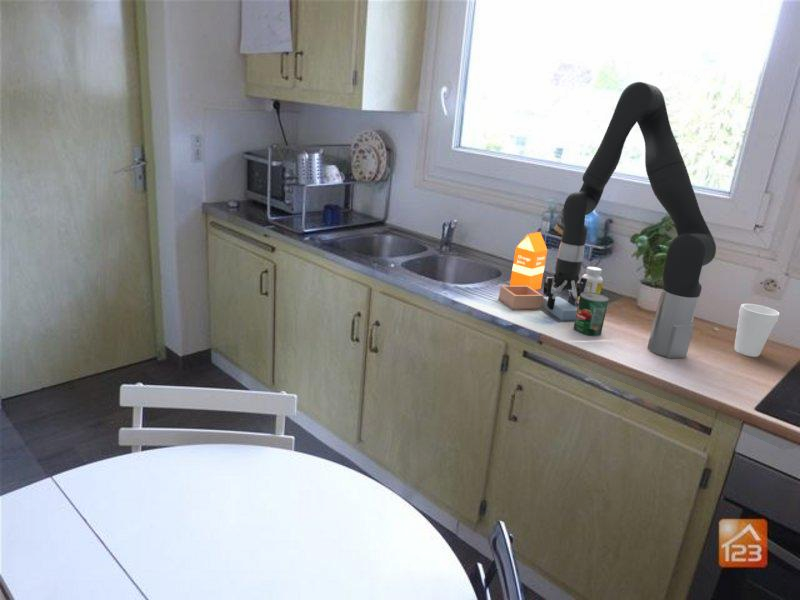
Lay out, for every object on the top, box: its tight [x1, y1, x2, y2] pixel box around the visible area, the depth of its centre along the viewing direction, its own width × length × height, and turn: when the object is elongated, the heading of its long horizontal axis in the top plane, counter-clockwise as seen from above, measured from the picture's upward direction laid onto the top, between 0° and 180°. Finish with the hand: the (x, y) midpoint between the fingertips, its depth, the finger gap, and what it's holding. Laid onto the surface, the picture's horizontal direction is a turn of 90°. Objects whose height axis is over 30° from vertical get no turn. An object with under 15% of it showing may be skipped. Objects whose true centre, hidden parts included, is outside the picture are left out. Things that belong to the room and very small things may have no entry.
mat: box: [539, 306, 575, 323], centre depth 179 cm, size 16×11×1 cm
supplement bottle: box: [577, 266, 604, 304], centre depth 188 cm, size 7×7×13 cm
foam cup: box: [733, 303, 780, 358], centre depth 159 cm, size 10×9×13 cm
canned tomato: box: [573, 292, 610, 337], centre depth 164 cm, size 8×8×11 cm
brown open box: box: [498, 285, 544, 311], centre depth 182 cm, size 10×10×5 cm
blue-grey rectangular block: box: [541, 296, 578, 320], centre depth 178 cm, size 13×6×3 cm, turn 17°
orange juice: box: [509, 231, 548, 291], centre depth 200 cm, size 8×9×20 cm
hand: (560, 308), depth 178 cm, fingers closed on blue-grey rectangular block, 6 cm apart
